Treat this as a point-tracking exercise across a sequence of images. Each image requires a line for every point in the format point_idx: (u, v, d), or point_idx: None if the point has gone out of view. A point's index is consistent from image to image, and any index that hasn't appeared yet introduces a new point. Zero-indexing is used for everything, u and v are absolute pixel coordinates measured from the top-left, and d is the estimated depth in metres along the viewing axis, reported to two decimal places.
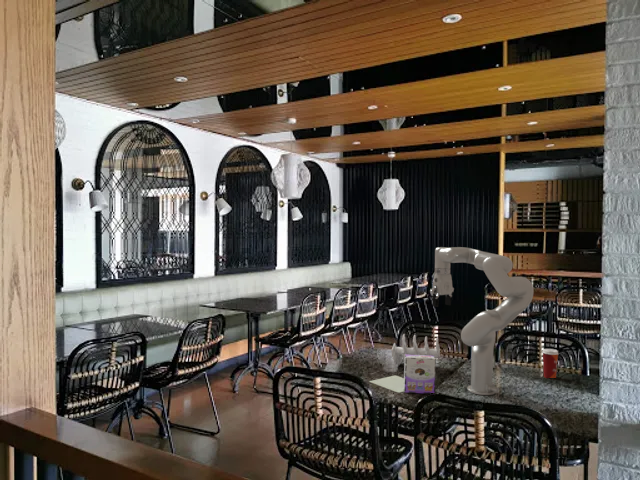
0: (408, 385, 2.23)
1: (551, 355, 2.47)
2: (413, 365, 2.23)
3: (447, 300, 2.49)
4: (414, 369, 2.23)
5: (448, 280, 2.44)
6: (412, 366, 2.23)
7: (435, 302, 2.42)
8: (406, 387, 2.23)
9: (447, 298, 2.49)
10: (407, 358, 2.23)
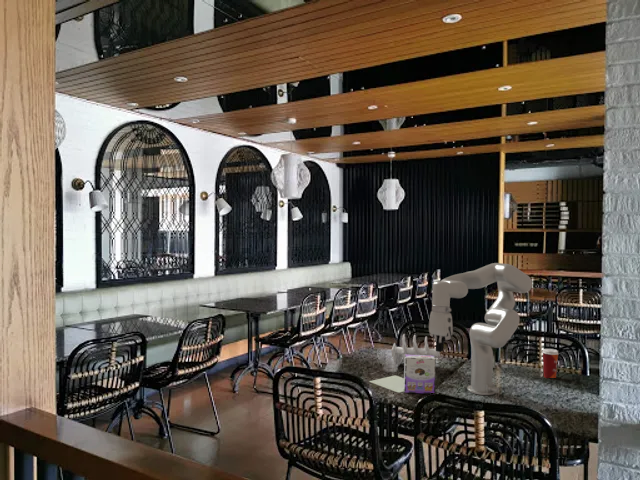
0: (408, 386, 2.23)
1: (551, 355, 2.47)
2: (413, 365, 2.22)
3: None
4: (414, 369, 2.23)
5: None
6: (412, 366, 2.23)
7: (443, 346, 2.15)
8: (406, 387, 2.23)
9: None
10: (407, 358, 2.23)
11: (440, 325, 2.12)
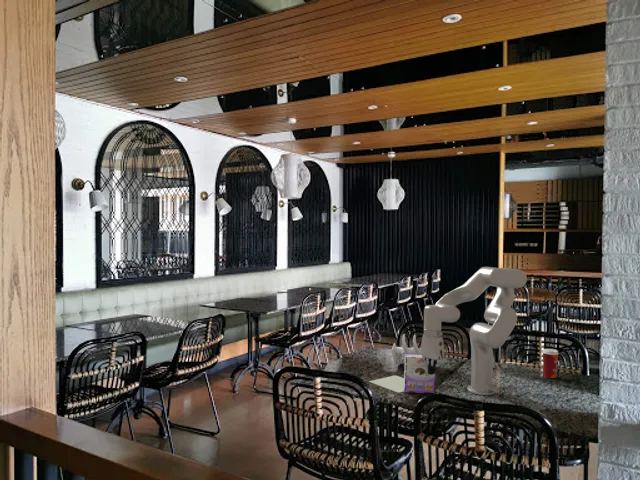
0: (408, 385, 2.23)
1: (551, 355, 2.47)
2: (414, 365, 2.23)
3: None
4: (414, 368, 2.23)
5: None
6: (412, 366, 2.23)
7: None
8: (406, 387, 2.23)
9: None
10: (407, 357, 2.23)
11: (432, 349, 2.16)
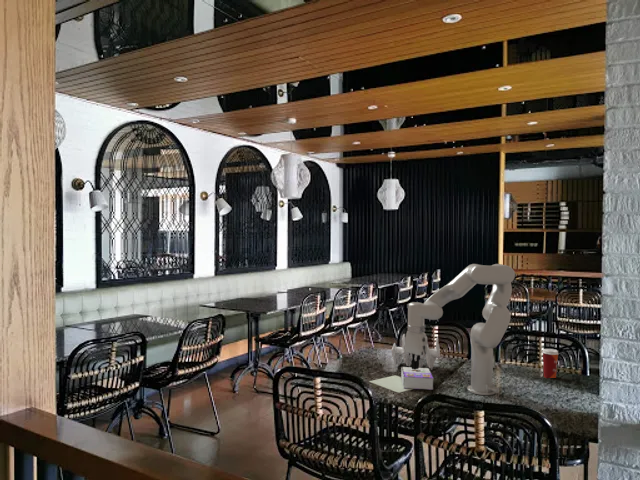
0: (407, 374, 2.32)
1: (551, 355, 2.47)
2: (409, 368, 2.41)
3: None
4: (410, 369, 2.40)
5: None
6: (408, 369, 2.41)
7: (418, 364, 2.26)
8: (405, 375, 2.31)
9: None
10: (403, 367, 2.45)
11: (415, 344, 2.24)
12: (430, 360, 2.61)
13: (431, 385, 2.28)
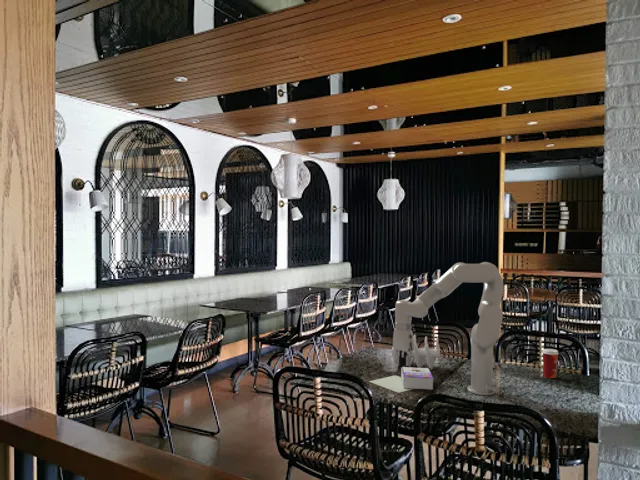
0: (407, 374, 2.32)
1: (551, 355, 2.47)
2: (409, 369, 2.41)
3: None
4: (410, 369, 2.40)
5: None
6: (408, 369, 2.41)
7: (405, 360, 2.33)
8: (405, 375, 2.31)
9: None
10: (403, 367, 2.45)
11: (402, 341, 2.31)
12: (430, 360, 2.61)
13: (431, 385, 2.28)
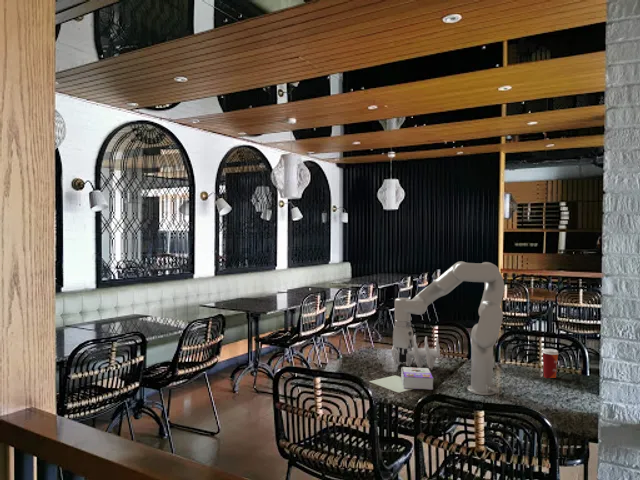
0: (407, 374, 2.32)
1: (551, 355, 2.47)
2: (409, 369, 2.41)
3: None
4: (410, 369, 2.40)
5: None
6: (408, 369, 2.41)
7: None
8: (405, 375, 2.31)
9: None
10: (403, 367, 2.45)
11: (402, 338, 2.31)
12: (430, 360, 2.61)
13: (431, 385, 2.28)
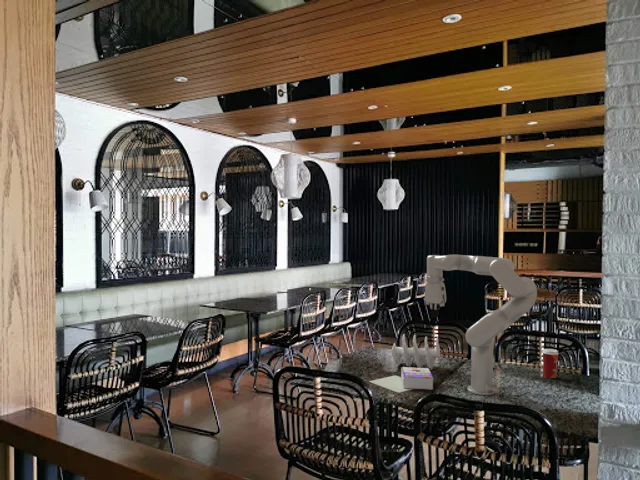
0: (407, 374, 2.32)
1: (551, 355, 2.47)
2: (409, 369, 2.41)
3: None
4: (410, 369, 2.40)
5: None
6: (408, 369, 2.41)
7: None
8: (405, 375, 2.31)
9: None
10: (403, 367, 2.45)
11: (435, 294, 2.38)
12: (430, 360, 2.61)
13: (431, 385, 2.28)
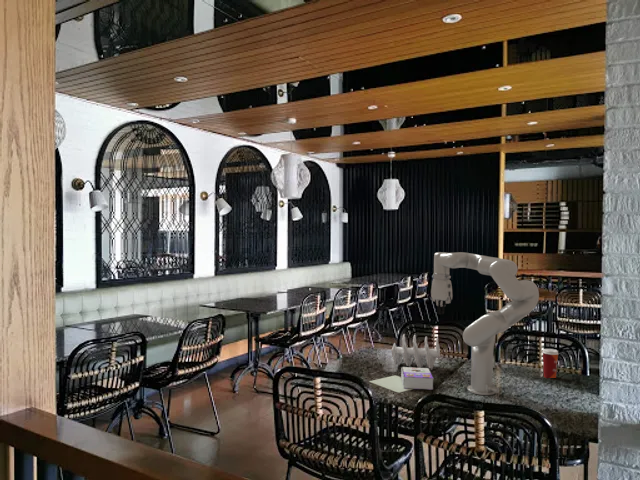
0: (407, 374, 2.32)
1: (551, 355, 2.47)
2: (409, 369, 2.41)
3: None
4: (410, 369, 2.40)
5: None
6: (408, 369, 2.41)
7: None
8: (405, 375, 2.31)
9: None
10: (403, 367, 2.45)
11: (441, 291, 2.40)
12: (430, 360, 2.61)
13: (431, 385, 2.28)
